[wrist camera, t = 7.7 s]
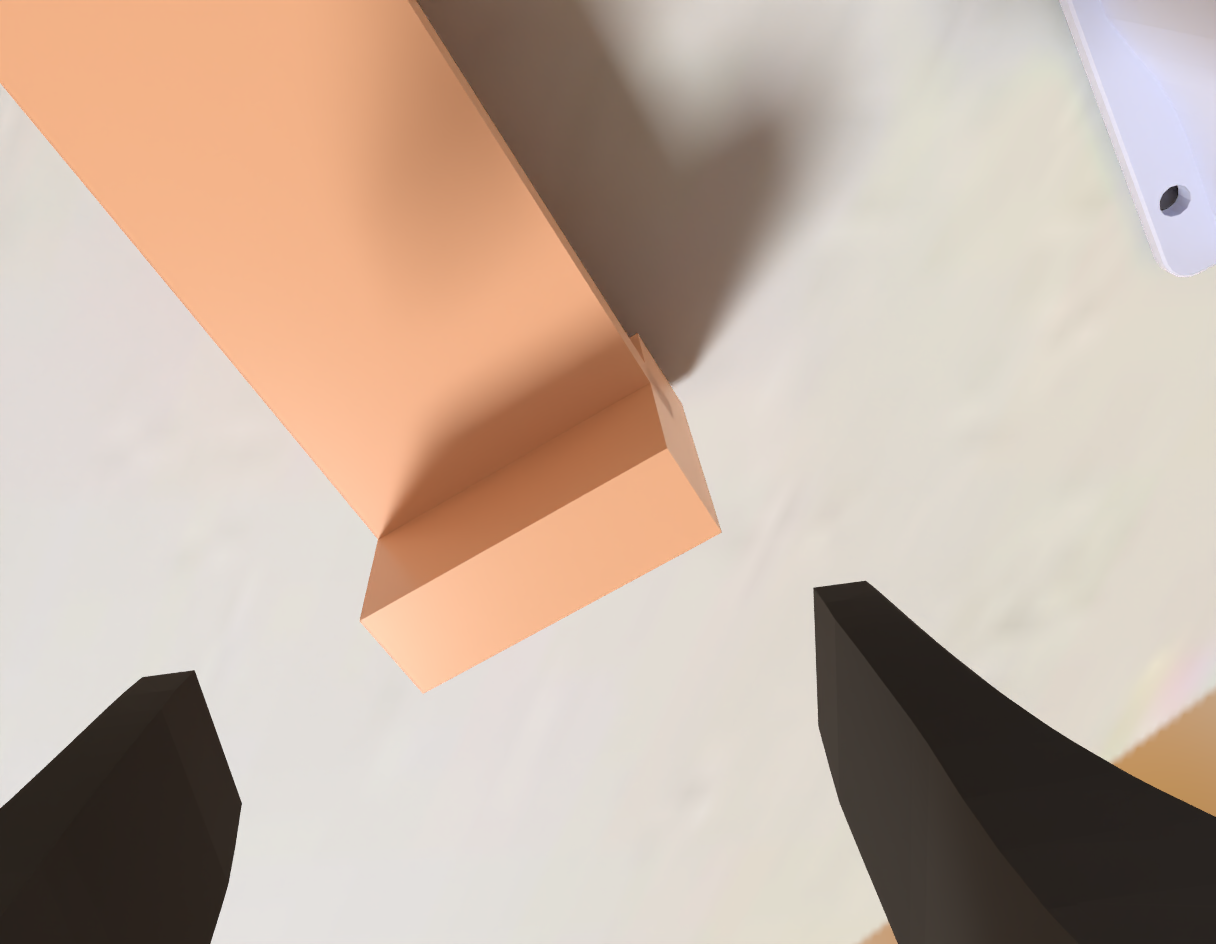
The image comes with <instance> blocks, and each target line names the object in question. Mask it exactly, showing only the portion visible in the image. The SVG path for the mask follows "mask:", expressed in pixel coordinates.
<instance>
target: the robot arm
mask: <svg viewBox="0 0 1216 944" xmlns="http://www.w3.org/2000/svg"><path fill="white" fill-rule="evenodd" d="M1059 2H1060V4H1061V7H1062V10H1063V13H1064V15H1065V18H1066V21H1067V23H1068V26H1069V29H1070V31H1071V34H1072V37H1073V40H1074V42H1075V45H1076V48H1077V50H1078V53H1079V56H1080V58H1081V61H1082V64H1083V67H1084V69H1085V72H1086V75H1087V77H1088V80H1089V83H1090V86H1091V88H1092V91H1093V94H1094V96H1095V99H1096V102H1097V104H1098V107H1099V110H1100V113H1101V115H1102V118H1103V121H1104V123H1105V126H1106V129H1107V131H1108V134H1109V137H1110V140H1111V142H1112V145H1113V148H1114V150H1115V153H1116V156H1117V158H1118V161H1119V164H1120V167H1121V169H1122V172H1123V175H1124V177H1125V180H1126V183H1127V186H1128V188H1129V191H1130V194H1131V196H1132V199H1133V202H1134V204H1135V207H1136V210H1137V213H1138V215H1139V218H1140V221H1141V223H1142V226H1143V229H1144V231H1145V234H1146V237H1147V240H1148V242H1149V245H1150V248H1151V250H1152V253H1153V256H1154V258H1155V260H1156V262H1157V263H1158V265H1159V266H1160V267H1161V268H1162V269H1164V270H1166V271H1167V272H1169V273H1171V274H1173V275H1175V276H1177V277H1190V276H1193V275H1196V274H1199V273H1201V272H1203V271H1204V270H1206V269H1208V268H1210V267H1212V266H1214V265H1216V0H1059ZM1176 185H1177V186H1178V197H1177V199H1176V201H1175V203H1174V204H1173V205H1171V206H1170V207H1169V208H1168V209H1165V210H1160V199H1161V197H1162V195H1163V193H1164V192H1165V191H1166V190H1168V189H1169V188H1170V187H1173V186H1176ZM813 589H814V616H815V644H816V672H817V699H818V726H819V730H820V734H821V737H822V741H823V745H824V748H825V752H826V756H827V760H828V763H829V767H830V771H831V774H832V778H833V781H834V785H835V788H836V792H837V795H838V799H839V802H840V805H841V807H842V810H843V812H844V815H845V817H846V820H847V822H848V825H849V827H850V829H851V832H852V834H853V837H854V839H855V842H856V844H857V846H858V849H859V851H860V854H861V856H862V859H863V861H864V863H865V866H866V868H867V871H868V873H869V875H870V878H871V880H872V883H873V885H874V887H875V890H876V892H877V895H878V897H879V899H880V902H881V904H882V907H883V909H884V911H885V914H886V916H887V919H888V921H889V923H890V926H891V928H892V930H893V933H894V935H895V938H896V940H897V942H898V944H1216V817H1214V816H1212V815H1211V814H1208V813H1206V812H1204V811H1202V810H1200V809H1198V808H1196V807H1194V806H1192V805H1190V804H1188V803H1186V802H1184V801H1182V800H1180V799H1177V798H1175V797H1173V796H1171V795H1169V794H1167V793H1165V792H1163V791H1161V790H1159V789H1157V788H1155V787H1153V786H1151V785H1149V784H1147V783H1145V782H1143V781H1142V780H1140V779H1138V778H1135V777H1133V776H1132V775H1130V774H1128V773H1127V772H1125V771H1123V770H1121V769H1119V768H1118V767H1116V766H1114V765H1113V764H1111V763H1109V762H1107V761H1106V760H1104V759H1102V758H1101V757H1099V756H1097V755H1095V754H1094V753H1092V752H1090V751H1088V750H1087V749H1085V748H1083V747H1082V746H1080V745H1078V744H1076V743H1075V742H1073V741H1071V740H1070V739H1068V738H1067V737H1065V736H1064V735H1062V734H1060V733H1059V732H1057V731H1056V730H1054V729H1052V728H1051V727H1049V726H1048V725H1046V724H1045V723H1043V722H1042V721H1040V720H1039V719H1038V718H1036V717H1035V716H1033V715H1032V714H1030V713H1029V712H1027V711H1026V710H1025V709H1023V708H1022V707H1020V706H1019V705H1017V704H1016V703H1014V702H1013V701H1012V700H1010V699H1009V698H1007V697H1006V696H1005V695H1003V694H1002V693H1001V692H999V691H998V690H996V689H995V688H994V687H992V686H991V685H990V684H989V683H987V682H986V681H985V680H984V679H982V678H981V677H980V676H978V675H977V674H976V673H975V672H973V671H972V670H971V669H970V668H968V667H967V666H966V665H965V664H963V663H962V662H961V661H959V660H958V659H957V658H956V657H954V656H953V655H952V654H951V653H949V652H948V651H947V650H946V649H945V648H943V647H942V646H941V645H940V644H939V643H937V642H936V641H935V640H934V639H933V638H932V637H930V636H929V635H928V634H927V633H926V632H925V631H923V630H922V629H921V628H920V627H919V626H918V625H916V624H915V623H914V622H913V621H912V620H911V619H910V618H908V617H907V616H906V615H905V614H904V613H903V612H902V611H900V610H899V609H898V608H897V607H896V606H895V605H894V604H893V603H891V602H890V601H889V600H888V599H887V598H886V597H885V596H883V595H882V594H881V593H880V592H879V591H878V590H877V589H875V588H874V587H873V586H872V585H870V584H869V583H868V582H867V581H861V582H853V583H846V584H838V585H831V586H823V587H816V588H813ZM241 805H242V803H241V800H240V797H239V794H238V791H237V788H236V786H235V783H234V780H233V777H232V774H231V772H230V769H229V766H228V763H227V760H226V758H225V755H224V752H223V749H222V746H221V744H220V741H219V738H218V735H217V732H216V729H215V727H214V724H213V721H212V718H211V715H210V713H209V710H208V707H207V704H206V701H205V699H204V696H203V693H202V690H201V687H200V685H199V682H198V679H197V676H196V673H195V670H193V671H186V672H178V673H171V674H163V675H156V676H148V677H142V678H141V679H140V680H138V681H137V682H136V683H135V684H134V685H132V686H131V687H130V688H129V689H128V690H127V691H125V692H124V693H123V694H122V695H121V696H120V697H119V698H118V699H117V700H115V701H114V702H113V703H112V704H111V705H110V706H109V707H108V708H107V709H106V710H105V711H104V712H103V713H102V714H100V715H99V716H98V717H97V718H96V719H95V720H94V721H93V722H92V723H91V724H90V725H89V726H88V727H87V728H86V729H85V730H84V731H83V732H82V733H80V734H79V735H78V736H77V737H76V738H75V739H74V740H73V741H72V742H71V743H70V744H69V745H68V746H67V747H66V748H65V749H64V750H63V751H62V752H61V753H59V754H58V755H57V756H56V757H55V758H54V759H53V760H52V761H51V762H50V763H49V764H48V765H47V766H46V767H45V768H44V769H42V770H41V771H40V772H39V773H38V774H37V775H36V776H35V777H34V778H33V779H32V780H31V781H30V782H29V783H28V784H26V785H25V786H24V787H23V788H22V789H21V790H20V791H19V792H18V793H17V794H16V795H15V796H14V797H13V798H11V799H10V800H9V801H8V802H7V803H6V804H5V805H4V806H2V807H1V808H0V944H210V943H211V940H212V936H213V933H214V930H215V927H216V924H217V920H218V917H219V914H220V911H221V907H222V904H223V901H224V897H225V894H226V890H227V887H228V883H229V878H230V872H231V867H232V861H233V856H234V850H235V844H236V838H237V831H238V825H239V818H240V812H241Z"/></svg>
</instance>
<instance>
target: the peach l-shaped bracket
mask: <svg viewBox="0 0 1216 944" xmlns="http://www.w3.org/2000/svg"><path fill="white" fill-rule="evenodd" d="M0 83H1V84H2V86H3V87H4V88H5V89H6V90H7V92H8V93H9V94H10V95H11V96H12V98H13V99H14V100H15V101H16V102H17V104H18V105H19V106H20V107H21V109H22V110H23V111H24V112H25V113H26V115H27V116H28V117H29V118H30V119H31V121H32V122H33V123H34V124H35V125H36V127H37V128H38V129H39V130H40V131H41V133H42V134H43V135H44V136H45V138H46V139H47V140H48V141H49V142H50V144H51V145H52V146H53V147H54V148H55V150H56V151H57V152H58V153H59V154H60V156H61V157H62V158H63V159H64V160H65V162H66V163H67V164H68V165H69V167H70V168H71V169H72V170H73V171H74V173H75V174H76V175H77V176H78V177H79V179H80V180H81V181H82V182H83V183H84V185H85V186H86V187H87V188H88V189H89V191H90V192H91V193H92V194H93V195H94V197H95V198H96V199H97V200H98V202H99V203H100V204H101V205H102V206H103V208H104V209H105V210H106V211H107V212H108V214H109V215H110V216H111V217H112V218H113V220H114V221H115V222H116V223H117V224H118V226H119V227H120V228H121V229H122V231H123V232H124V233H125V234H126V235H127V237H128V238H129V239H130V240H131V241H132V243H133V244H134V245H135V246H136V247H137V249H138V250H139V251H140V252H141V253H142V255H143V256H144V257H145V258H146V260H147V261H148V262H149V263H150V264H151V266H152V267H153V268H154V269H155V270H156V272H157V273H158V274H159V275H160V276H161V278H162V279H163V280H164V281H165V282H166V284H167V285H168V286H169V287H170V289H171V290H172V291H173V292H174V293H175V295H176V296H177V297H178V298H179V299H180V301H181V302H182V303H183V304H184V305H185V307H186V308H187V309H188V310H189V311H190V313H191V314H192V315H193V316H194V318H195V319H196V320H197V321H198V322H199V324H200V325H201V326H202V327H203V328H204V330H205V331H206V332H207V333H208V334H209V336H210V337H211V338H212V339H213V340H214V342H215V343H216V344H217V345H218V346H219V348H220V349H221V350H222V351H223V353H224V354H225V355H226V356H227V357H228V359H229V360H230V361H231V362H232V363H233V365H234V366H235V367H236V368H237V369H238V371H239V372H240V373H241V374H242V375H243V377H244V378H245V379H246V380H247V382H248V383H249V384H250V385H251V386H252V388H253V389H254V390H255V391H256V392H257V394H258V395H259V396H260V397H261V398H262V400H263V401H264V402H265V403H266V404H267V406H268V407H269V408H270V409H271V411H272V412H273V413H274V414H275V415H276V417H277V418H278V419H279V420H280V421H281V423H282V424H283V425H284V426H285V427H286V429H287V430H288V431H289V432H290V433H291V435H292V436H293V437H294V438H295V440H296V441H297V442H298V443H299V444H300V446H301V447H302V448H303V449H304V450H305V452H306V453H307V454H308V455H309V456H310V458H311V459H312V460H313V461H314V462H315V464H316V465H317V466H318V467H319V468H320V470H321V471H322V472H323V473H324V475H325V476H326V477H327V478H328V479H329V481H330V482H331V483H332V484H333V485H334V487H335V488H336V489H337V490H338V491H339V493H340V494H341V495H342V496H343V497H344V499H345V500H346V501H347V502H348V504H349V505H350V506H351V507H352V508H353V510H354V511H355V512H356V513H357V514H358V516H359V517H360V518H361V519H362V520H363V522H364V523H365V524H366V525H367V526H368V528H369V529H370V530H371V531H372V533H373V534H374V535H375V536H376V537H377V539H378V542H377V547H376V551H375V556H374V560H373V564H372V569H371V573H370V577H369V582H368V586H367V591H366V595H365V599H364V604H363V608H362V612H361V617H360V622H361V623H362V624H363V626H364V627H365V628H366V629H367V630H368V631H369V632H370V634H371V635H372V636H373V637H374V638H375V639H376V640H377V642H378V643H379V644H380V645H381V646H382V647H383V648H384V650H385V651H386V652H387V653H388V654H389V655H390V656H391V658H392V659H393V660H394V661H395V662H396V663H397V664H398V666H399V667H400V668H401V669H402V670H403V671H404V672H405V674H406V675H407V676H408V677H409V678H410V679H411V680H412V682H413V683H414V684H415V685H416V686H417V687H418V688H419V690H420V691H421V692H422V693H425V692H427V691H429V690H431V689H433V688H435V687H436V686H438V685H440V684H442V683H444V682H446V681H448V680H449V679H451V678H453V677H455V676H457V675H459V674H460V673H462V672H464V671H466V670H468V669H470V668H472V667H473V666H475V665H477V664H479V663H481V662H483V661H485V660H486V659H488V658H490V657H492V656H494V655H496V654H498V653H499V652H501V651H503V650H505V649H507V648H509V647H510V646H512V645H514V644H516V643H518V642H520V641H522V640H523V639H525V638H527V637H529V636H531V635H533V634H535V633H536V632H538V631H540V630H542V629H544V628H546V627H547V626H549V625H551V624H553V623H555V622H557V621H559V620H560V619H562V618H564V617H566V616H568V615H570V614H572V613H573V612H575V611H577V610H579V609H581V608H583V607H584V606H586V605H588V604H590V603H592V602H594V601H596V600H597V599H599V598H601V597H603V596H605V595H607V594H609V593H610V592H612V591H614V590H616V589H618V588H620V587H622V586H623V585H625V584H627V583H629V582H631V581H633V580H634V579H636V578H638V577H640V576H642V575H644V574H646V573H647V572H649V571H651V570H653V569H655V568H657V567H659V566H660V565H662V564H664V563H666V562H668V561H670V560H671V559H673V558H675V557H677V556H679V555H681V554H683V553H684V552H686V551H688V550H690V549H692V548H694V547H696V546H697V545H699V544H701V543H703V542H705V541H707V540H708V539H710V538H712V537H714V536H716V535H718V534H720V533H721V529H720V525H719V522H718V519H717V516H716V512H715V509H714V506H713V503H712V500H711V496H710V493H709V490H708V487H707V483H706V480H705V477H704V474H703V471H702V467H701V464H700V461H699V458H698V454H697V451H696V448H695V445H694V442H693V438H692V435H691V432H690V429H689V426H688V422H687V419H686V416H685V413H684V409H683V406H682V404H681V402H680V400H679V399H678V397H677V396H676V394H675V392H674V391H673V389H672V388H671V386H670V384H669V383H668V381H667V380H666V378H665V376H664V375H663V373H662V372H661V370H660V368H659V367H658V365H657V364H656V362H655V360H654V359H653V357H652V356H651V354H650V352H649V351H648V349H647V348H646V346H645V344H644V343H643V341H642V340H641V338H640V336H639V335H638V333H637V334H635V335H633V336H632V337H630V338H629V337H628V336H627V334H626V332H625V331H624V329H623V328H622V326H621V324H620V323H619V321H618V320H617V318H616V317H615V315H614V313H613V312H612V310H611V309H610V307H609V305H608V304H607V302H606V301H605V299H604V297H603V296H602V294H601V293H600V291H599V290H598V288H597V286H596V285H595V283H594V282H593V280H592V278H591V277H590V275H589V274H588V272H587V271H586V269H585V267H584V266H583V264H582V263H581V261H580V259H579V258H578V256H577V255H576V253H575V252H574V250H573V248H572V247H571V245H570V244H569V242H568V240H567V239H566V237H565V236H564V234H563V233H562V231H561V229H560V228H559V226H558V225H557V223H556V221H555V220H554V218H553V217H552V215H551V214H550V212H549V210H548V209H547V207H546V206H545V204H544V202H543V201H542V199H541V198H540V196H539V195H538V193H537V191H536V190H535V188H534V187H533V185H532V183H531V182H530V180H529V179H528V177H527V176H526V174H525V172H524V171H523V169H522V168H521V166H520V164H519V163H518V161H517V160H516V158H515V156H514V155H513V153H512V152H511V150H510V149H509V147H508V145H507V144H506V142H505V141H504V139H503V137H502V136H501V134H500V133H499V131H498V130H497V128H496V126H495V125H494V123H493V122H492V120H491V118H490V117H489V115H488V114H487V112H486V111H485V109H484V107H483V106H482V104H481V103H480V101H479V99H478V98H477V96H476V95H475V93H474V92H473V90H472V88H471V87H470V85H469V84H468V82H467V80H466V79H465V77H464V76H463V74H462V73H461V71H460V69H459V68H458V66H457V65H456V63H455V61H454V60H453V58H452V57H451V55H450V54H449V52H448V50H447V49H446V47H445V46H444V44H443V42H442V41H441V39H440V38H439V36H438V35H437V33H436V31H435V30H434V28H433V27H432V25H431V23H430V22H429V20H428V19H427V17H426V16H425V14H424V12H423V11H422V9H421V8H420V6H419V4H418V3H417V1H416V0H0Z"/></svg>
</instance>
